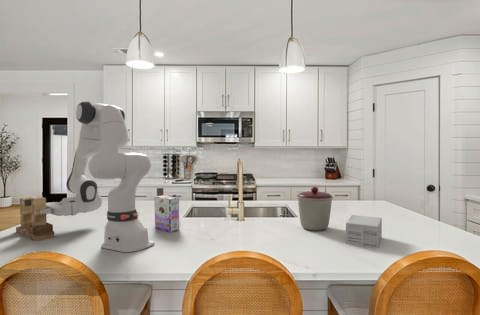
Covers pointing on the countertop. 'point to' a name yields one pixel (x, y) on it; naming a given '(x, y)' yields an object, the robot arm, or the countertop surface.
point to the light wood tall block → (36, 206)
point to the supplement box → (364, 231)
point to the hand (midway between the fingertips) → (36, 211)
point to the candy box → (167, 213)
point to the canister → (314, 209)
